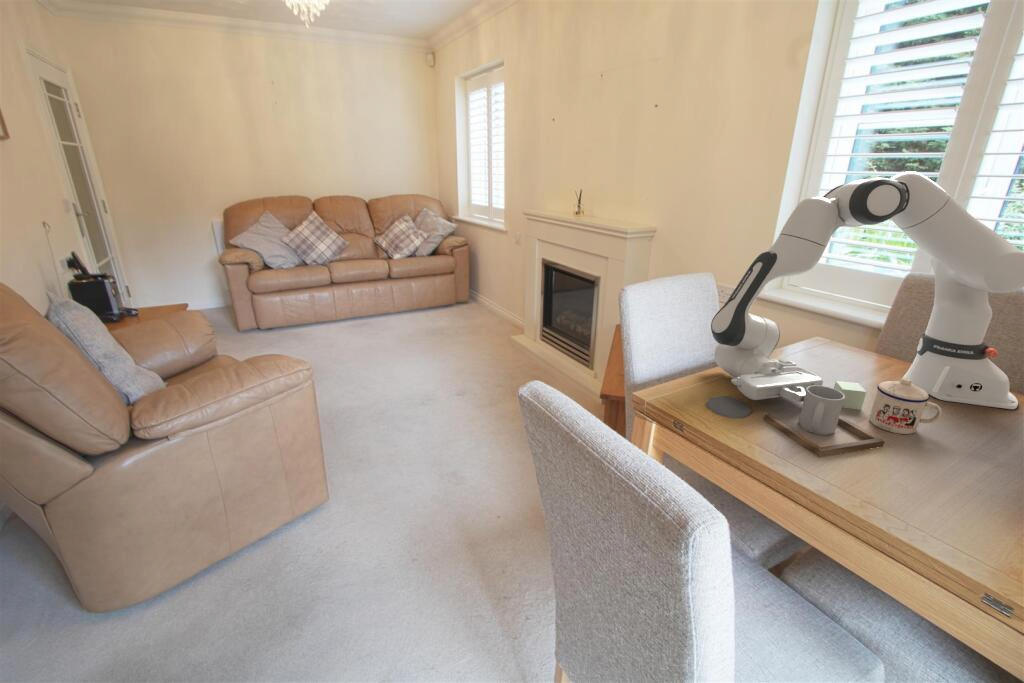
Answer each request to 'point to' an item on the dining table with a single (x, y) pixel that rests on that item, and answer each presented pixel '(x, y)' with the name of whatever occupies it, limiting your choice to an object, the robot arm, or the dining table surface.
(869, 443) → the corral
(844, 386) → the sage box
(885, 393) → the teacup with lid
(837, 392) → the cup
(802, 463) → the dining table surface
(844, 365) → the dining table surface
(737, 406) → the slate coaster
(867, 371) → the dining table surface
